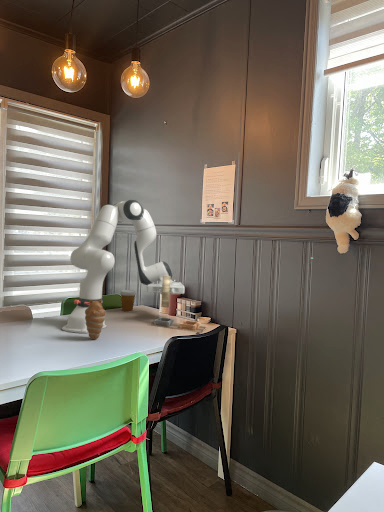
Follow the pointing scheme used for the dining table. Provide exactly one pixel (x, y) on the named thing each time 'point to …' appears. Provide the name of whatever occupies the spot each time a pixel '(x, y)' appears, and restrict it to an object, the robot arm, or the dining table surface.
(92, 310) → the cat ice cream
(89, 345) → the dining table surface
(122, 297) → the disposable coffee cup
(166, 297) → the peg
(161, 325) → the rail board
